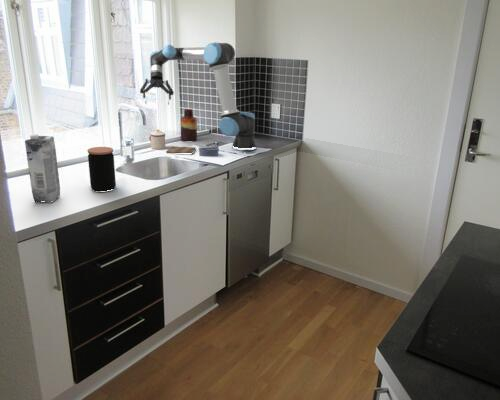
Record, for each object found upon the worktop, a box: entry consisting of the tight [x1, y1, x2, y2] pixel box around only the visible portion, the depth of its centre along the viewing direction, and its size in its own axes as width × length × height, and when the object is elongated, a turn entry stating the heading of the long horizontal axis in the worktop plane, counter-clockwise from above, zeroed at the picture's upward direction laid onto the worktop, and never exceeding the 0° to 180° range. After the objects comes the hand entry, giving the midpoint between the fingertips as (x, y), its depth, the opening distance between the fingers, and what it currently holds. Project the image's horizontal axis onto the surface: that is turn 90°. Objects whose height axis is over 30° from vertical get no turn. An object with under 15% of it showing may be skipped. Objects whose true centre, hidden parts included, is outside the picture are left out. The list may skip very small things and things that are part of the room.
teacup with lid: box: [148, 128, 166, 150], centre depth 269 cm, size 12×9×12 cm
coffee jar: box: [87, 146, 117, 192], centre depth 192 cm, size 11×11×18 cm
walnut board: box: [166, 145, 196, 154], centre depth 264 cm, size 15×14×1 cm
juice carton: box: [24, 133, 61, 203], centre depth 176 cm, size 9×10×27 cm
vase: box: [180, 108, 198, 142], centre depth 291 cm, size 11×11×20 cm
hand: (157, 103), depth 268 cm, fingers open, 13 cm apart
